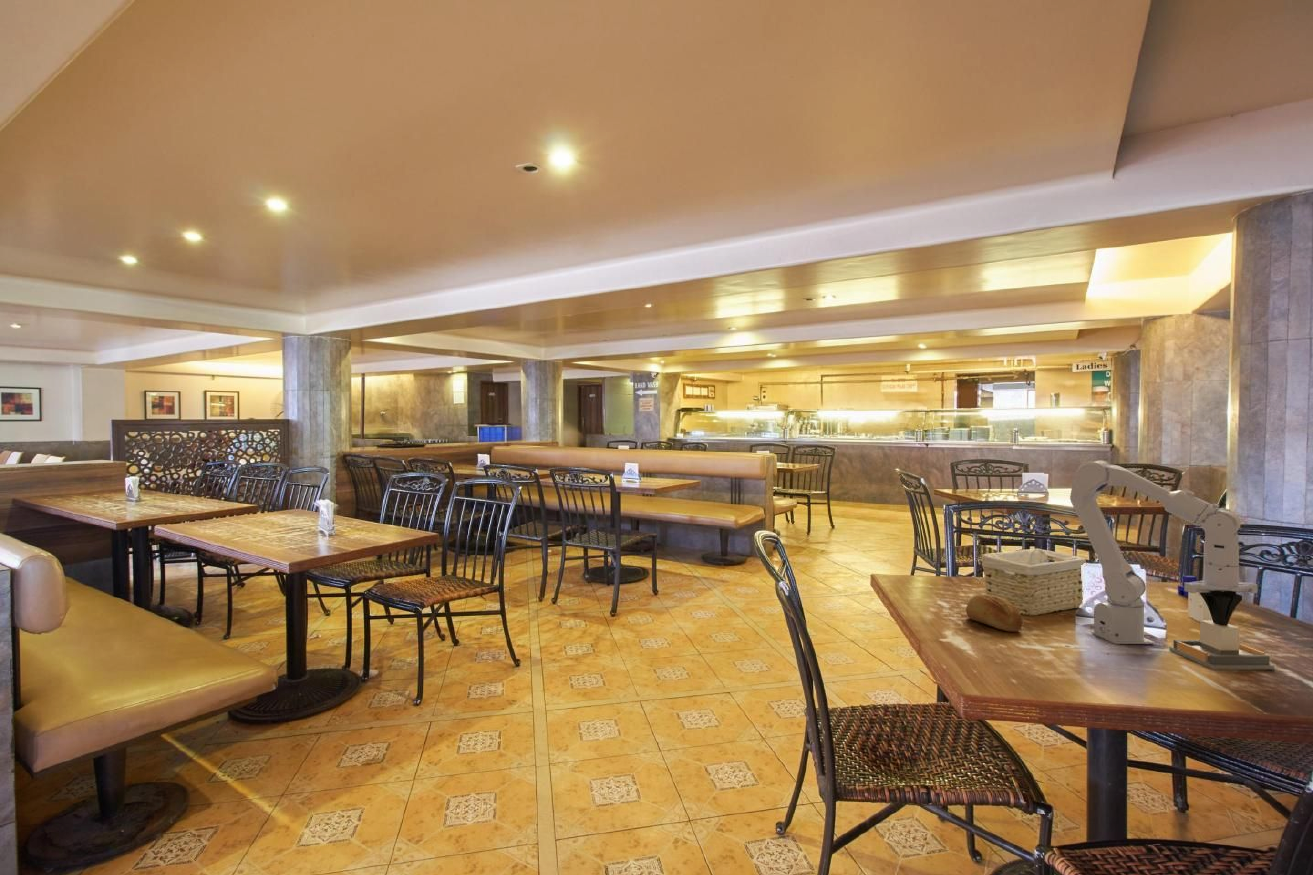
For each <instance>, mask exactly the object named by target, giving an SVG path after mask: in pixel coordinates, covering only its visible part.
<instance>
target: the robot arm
mask: <svg viewBox="0 0 1313 875" xmlns="http://www.w3.org/2000/svg"><path fill="white" fill-rule="evenodd" d="M1107 486H1108V487H1109V486H1110V487H1126V488H1128V489H1130V490H1132V491H1134V492H1136V493H1139V494H1141V495H1143V496H1146V497H1147V498H1150V499H1152V500H1155V501H1157V502H1159V503H1161V504H1162V506H1163V508H1164V510H1165V511H1166V512H1167V513H1170V514H1171V515H1174V516H1175V517H1178V518H1179V519H1181V520H1183V521H1185V522H1188V523H1190V524H1192V525H1193V526H1197V527H1198V526H1199V527H1201V528H1202V530H1203V532H1204V542H1203V576H1202V577H1203V578H1202V580H1197V582H1189V583H1184V591H1186V592H1190V593H1196V592H1200V595H1201V596H1202V598H1203V599H1204V601H1205V602H1206V604H1207V606H1208V608H1209V611H1210V614H1211V617H1212V620H1213V623H1215V624H1218V625H1221V626H1227V625H1228V624H1229V622H1230V620H1231V617H1232V614H1233V612H1234V610H1235V609H1236V607H1238V605H1239V604H1240V603H1241V602H1242V601H1243V595H1241V594H1238V593H1251V594H1258V584H1257V583H1252V582H1249V581H1247V582H1244V581H1243V582H1242V581H1239V580H1240V578H1239V576H1240V574H1239V572H1240V570H1239V568H1240V567H1239V566H1240V545H1239V541H1240V540H1239V535H1238V531H1239V529H1240V528H1241V525H1242V524H1241V519H1240V518H1239V516H1238V515H1237V514H1236V513H1234V512H1233V511H1232V510H1231V509H1229V508H1221V507H1220V504H1217V503H1216V502H1215V503H1213V504H1212V503H1209V502H1208V501H1206V500H1203V499H1201V498H1199V497H1196V496H1195V492H1193V491H1191V490H1187V491H1184V490H1182V489H1181V490H1180V489H1179V490H1174V491H1171V490H1169V489H1166V488H1165V487H1163V486H1161V485H1159V484H1157V483H1154V482H1153V481H1152V480H1149V479H1147V478H1144V477H1143V476H1141V475H1139V474H1137V473H1135V472H1134V471H1131V470H1129V469H1127V468H1124V467H1122V466H1120V465H1116V464H1112V463H1110V462H1109V461H1106V460H1095V461H1087V462H1083V463H1081V464H1080V465H1079V466H1078V467H1077V468H1076V470H1075V471H1074V473H1073V474H1072V486H1071V489H1070V490H1071V491H1070V495H1069V499H1070V503H1071V505H1072V506H1073V509H1074V511H1075V513H1076V516H1077V517H1078V519H1079V522H1080V523H1081V524H1080V525H1082V528H1083V530H1084V532H1085V533H1086V535H1087V538H1088V541H1089V542H1090V545H1091V546H1092V549H1093V551H1094V553H1095V555H1096V557H1097V558H1098V561H1099V562H1100V565H1101V568H1102V570H1101V571H1102V578H1103V579H1104V580H1103V581H1104V582H1105V585H1104V592H1105V594H1106V596H1107V597H1106V601H1104V602H1098V603H1096V604H1095V606H1094V609H1093V630H1091V634H1092V635H1095V636H1098V637H1100V638H1102V639H1103V640H1106V641H1107V642H1111V643H1112V644H1114V645H1152V644H1153V645H1154V643H1155V642H1154V641H1152V640H1150V639H1148V638H1146V637H1145V636H1144V634H1145V602H1144V601H1143V599H1142V598H1141V597H1142V596H1143V595H1144V594H1145V592H1146V590H1147V587H1146V582H1145V581H1144V579H1143V578H1142V577H1140V576H1139V575H1138V574H1137V573H1136V571H1135V570H1134V569H1133V566H1132V565H1131V564H1129V562H1128V561H1127V560H1126V559H1125V557H1124V555H1123V552H1122V551H1121V548H1120V546H1119V544H1118V542H1117V540H1116V537H1115V536H1114V534H1113V532H1112V531H1111V528H1110V526H1109V524H1108V522H1107V520H1106V518H1105V516H1104V514H1103V511H1102V510H1101V508H1100V506H1099V504H1098V501H1097V500H1098V498H1099V496H1100V495H1101V493H1102V491H1103V490H1104V489H1105V488H1106V487H1107Z"/></svg>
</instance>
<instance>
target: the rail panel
mask: <svg viewBox="0 0 1313 875" xmlns="http://www.w3.org/2000/svg"><path fill="white" fill-rule="evenodd" d="M1192 646H1200V639H1173V646H1169V651H1170V652H1173V653H1175V654H1178V655H1179V656H1181V657H1185V658H1186V659H1189V660H1191V661H1193V662H1195V663H1198V664H1200V665H1202V666H1205V667H1207V668H1209V669H1212V670H1275V665H1273V664H1271V662H1270V661H1271V660H1270V657H1271V656H1270V655H1266V653H1265V652H1264V651H1261V650H1258V649H1255V648H1253V647H1250V646H1247V645H1245V644H1242V643H1240V642H1239V649H1241V650H1244V651H1246V652H1249V653H1252V654H1254V655H1209V661H1208V653H1207V652H1204V651H1202V650H1199V649H1197V648H1195V647H1192Z"/></svg>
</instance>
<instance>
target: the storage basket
mask: <svg viewBox="0 0 1313 875" xmlns="http://www.w3.org/2000/svg"><path fill="white" fill-rule="evenodd" d="M981 559H982V560H981V565H982V570H983V574H984V577H983V578H984V586H985V590H986V591H985V594H989V595H995V596H999V597H1002V598H1004V599H1006V600H1008V601H1009V602H1011V603H1012V604H1013V605H1014V606H1015V607H1016V608H1017V609H1018V611H1019V612H1021V613H1023V614H1022V615H1025V614H1026V616H1030V617H1031V616H1039V615H1044V614H1051V613H1052V612H1054V611H1056V612H1060V611H1059V610H1062V611H1065V610H1071V609H1077V608H1080V607H1079V605H1080V604H1081V603H1082V604H1083V602H1082V600H1083V599H1084V596H1083V597H1082V592H1083V593H1084V590H1083V591H1082V581H1081V565H1083V564H1084V563H1086V564H1087V562H1086V558H1085V557H1083V556H1076V555H1071V554H1067V553H1062V552H1058V551H1052V550H1048V549H1041V548H1029V549H1021V550H1020V549H1019V550H1011V551H1004V552H1003V551H1001V552H993V553H984V554H981ZM1048 560H1049V561H1051V562H1048ZM1083 601H1084V600H1083ZM1038 614H1039V615H1038Z"/></svg>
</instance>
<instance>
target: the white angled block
mask: <svg viewBox="0 0 1313 875" xmlns="http://www.w3.org/2000/svg"><path fill="white" fill-rule="evenodd" d="M1187 598H1188V599H1187V600H1188V601H1187V602H1188V604H1187V605H1188V607H1187V608H1188V610H1187V617H1188V616H1189V618H1190V617H1191V618H1190V619H1192V618H1193V619H1192V620H1194V619H1195V621H1197V622H1199V621H1200V620H1212V617H1211V614H1210V611H1209V608H1208V606H1207V604H1206V602H1205V601H1204V599H1203V598H1202V596H1201V595H1200V592H1196V593H1190V592H1188V597H1187Z"/></svg>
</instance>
